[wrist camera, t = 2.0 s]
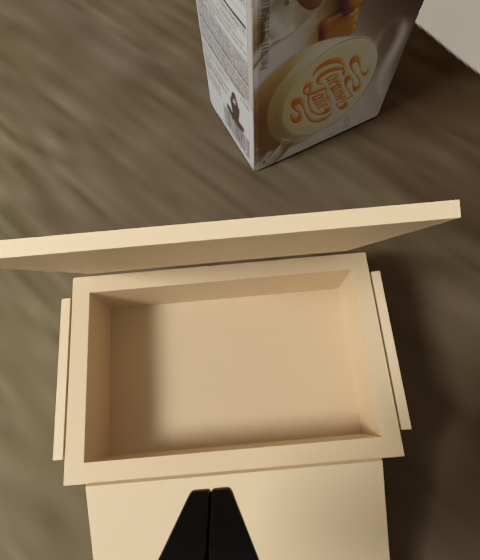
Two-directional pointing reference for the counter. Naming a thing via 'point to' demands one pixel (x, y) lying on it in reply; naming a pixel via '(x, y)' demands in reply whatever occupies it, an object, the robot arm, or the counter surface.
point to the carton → (233, 403)
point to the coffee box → (299, 67)
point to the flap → (222, 239)
